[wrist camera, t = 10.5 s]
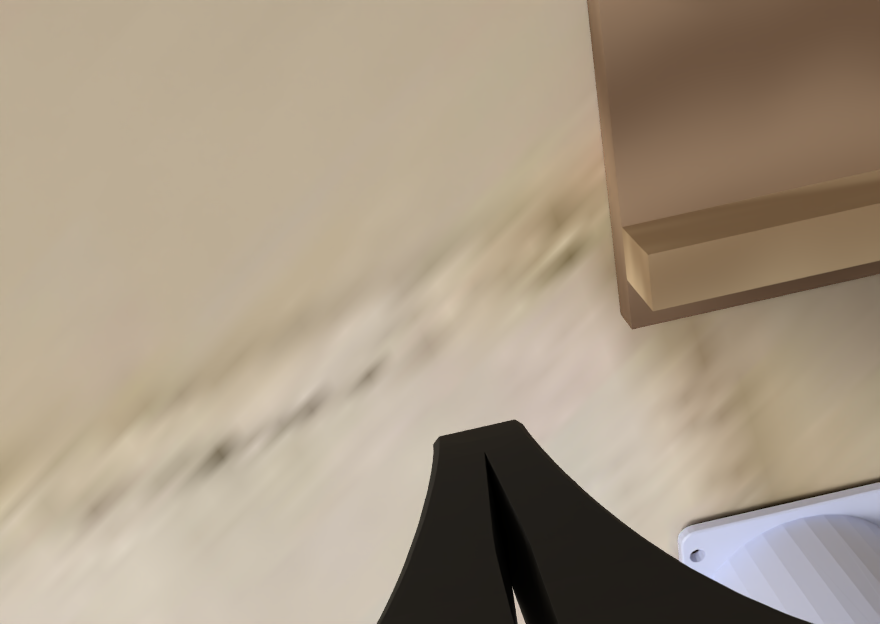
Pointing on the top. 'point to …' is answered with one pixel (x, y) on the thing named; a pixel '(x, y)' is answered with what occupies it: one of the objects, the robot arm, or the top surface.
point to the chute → (737, 148)
